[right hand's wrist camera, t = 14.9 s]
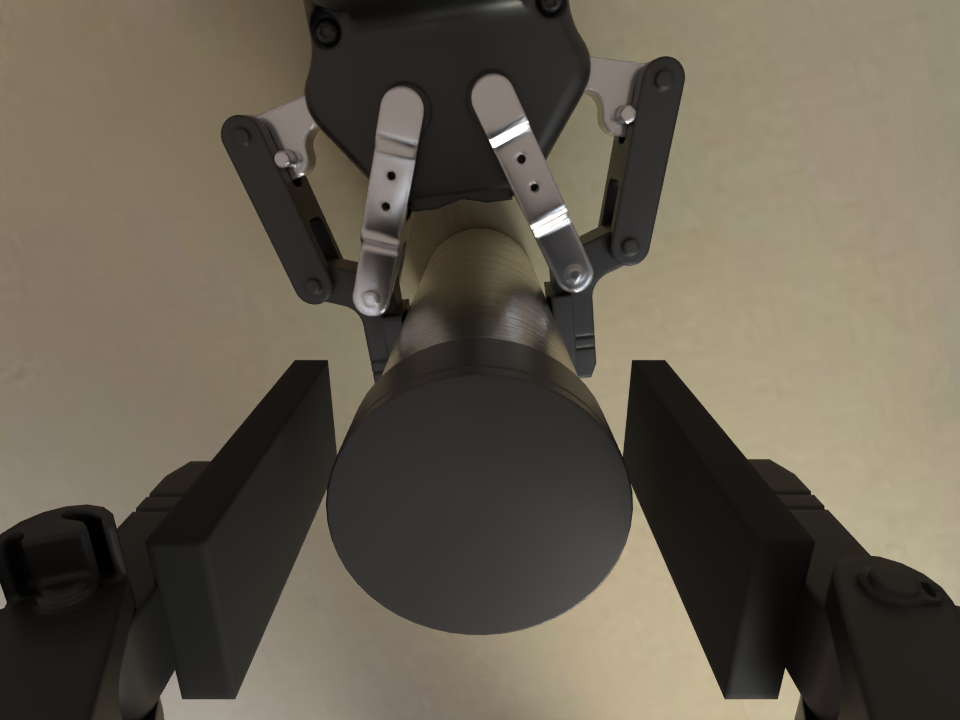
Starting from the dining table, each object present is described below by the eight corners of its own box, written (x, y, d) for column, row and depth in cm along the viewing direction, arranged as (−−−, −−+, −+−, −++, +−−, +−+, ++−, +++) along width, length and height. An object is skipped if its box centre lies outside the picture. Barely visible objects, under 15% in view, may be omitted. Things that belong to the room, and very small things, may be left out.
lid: (595, 314, 11) (617, 348, 9) (621, 546, 13) (645, 614, 11) (318, 361, 11) (287, 403, 10) (382, 582, 13) (367, 653, 11)
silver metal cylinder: (525, 218, 26) (602, 352, 10) (541, 326, 27) (629, 591, 11) (414, 238, 26) (308, 401, 10) (436, 343, 28) (378, 627, 12)
